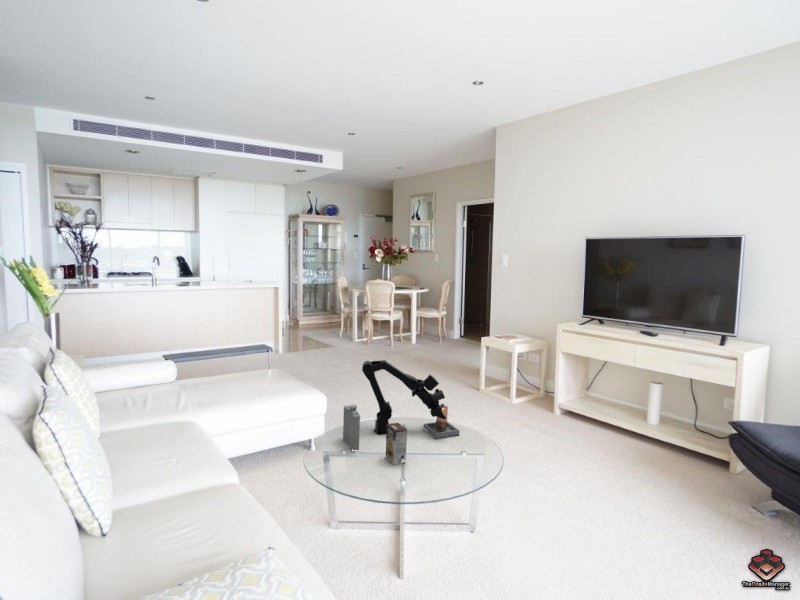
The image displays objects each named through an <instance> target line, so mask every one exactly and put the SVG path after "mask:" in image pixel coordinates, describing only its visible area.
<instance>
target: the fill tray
mask: <svg viewBox="0 0 800 600" xmlns="http://www.w3.org/2000/svg"><path fill="white" fill-rule="evenodd" d="M424 428H425V429H426V430H427V431H428V432H429V433H430V434H431V435H432V436H433V437H432V436H431V435H430V434H429V433H428V432H427V433H428V434H429V435H430V436H431V437H432V438H434V439H435V440H441V439H446V438H452V437H453V438H454V437H459V436H460V429H459V428H457V427H456V426H454V425H453V424H451V423H450V422H449V421H447V429H446V430H444V431H440V430H437V429H436V421H435V422H427V423H423V429H424Z"/></svg>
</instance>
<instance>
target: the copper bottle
mask: <svg viewBox="0 0 800 600" xmlns="http://www.w3.org/2000/svg"><path fill="white" fill-rule="evenodd" d="M439 405H440V406H441V407H442V413H443V414H444V416H445V417H446V419H445V420H444V419H442V418H439V417H436V416H435V417H436V418H435V419H436V420H435V422H436V429H437V430H440V431H444V430H446V429H447V422H448V410H449V407H448V405H445V404H444V403H441V404H439Z"/></svg>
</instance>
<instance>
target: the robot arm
mask: <svg viewBox="0 0 800 600" xmlns="http://www.w3.org/2000/svg"><path fill="white" fill-rule="evenodd" d="M361 369H362V370H361V371H362V373H363V375H364V376H365V378H367V380H368V381H369V385H370V386H371V389H372V391H373V393H374V396H375V399H376V402H377V403H378V408H379V409H378V410H379V411H378V412H377V413H376V415H375V417H376V420H375V423H374V425H375V426H374V428H373V431H374V433H376V434H377V435H384V434H385V435H386V431H387V424H390V422H389V420H390V419H391V418H392V415H393V414H392V413H393V408H392V406H391V404H390V401H386V399H385V397H384V394H383V392H382V389H381V387H380V385H379V382H378V380H377V377H376V372H378V371H382V370H385V371H386V372H387V373H389V374H390V375H391V376H393V377H395V378H396V379H398V380H399V381H401V382H402V383H403V384H404V386H406V387H407V388H408V389H409V390H410V391H411V396H412V398H413V397H415V396H416V397H418V399H419V400H420V401H421V402H422V404H424V405H425V406H426V407H427V409H428V410H430V411H429V413H430V416H432V417H433V418H435V417H439V418H442V419H444V420H445V419H446V417H445V416H444V414H443V413H442V407H441V406H440V405H441V404H440V400H443V399H445V398H446V397H445V394H444V392H443V390H441V389H438V388H436V387H437V386H438V385H439V384H440V382H439V381H438V380H437V379H436V378H435V377H434V376H433V375H432V374H428V375H427V377H426V378H425V379H421V378H419V379H418V378H416V377H414V376H413V375H411V374H407V373H405V372H403V371H401V370H400V369H399V368H397V367H396V366H394V365H393V364H391V363H389V362H388V361H387V360H385V359H381V360H374V361H370V360H366V361H364V362H363V363H362V367H361ZM434 389H435V390H434ZM433 390H434V393H432V392H431V391H433Z"/></svg>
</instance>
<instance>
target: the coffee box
mask: <svg viewBox="0 0 800 600" xmlns="http://www.w3.org/2000/svg"><path fill="white" fill-rule="evenodd" d="M385 435H386V437H385V438H386V439H385V458H386V459H387V461H389V462H390V463H391V464H392V465H394V466H396V465H401V461H402V459H404V460H407V459H406V458H407V445H408V444H407V443H408V440H407V439H408V429H407V428H406V427H405V426H403V425H402V424H401V423H399V422H393V423H392V422H391V423H389V424H387V431H386V434H385Z"/></svg>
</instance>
